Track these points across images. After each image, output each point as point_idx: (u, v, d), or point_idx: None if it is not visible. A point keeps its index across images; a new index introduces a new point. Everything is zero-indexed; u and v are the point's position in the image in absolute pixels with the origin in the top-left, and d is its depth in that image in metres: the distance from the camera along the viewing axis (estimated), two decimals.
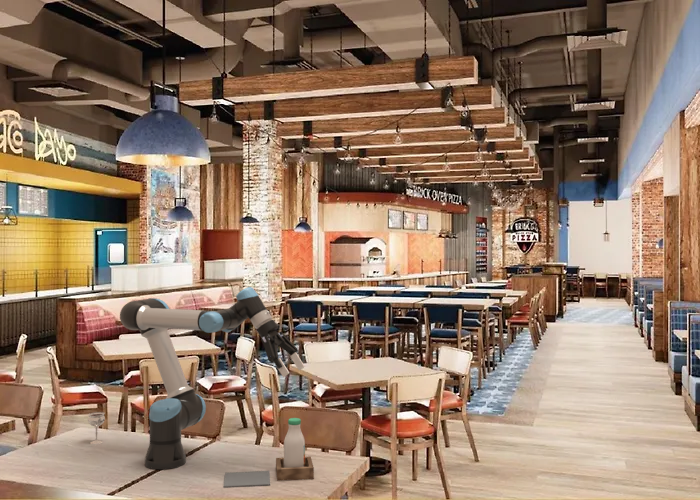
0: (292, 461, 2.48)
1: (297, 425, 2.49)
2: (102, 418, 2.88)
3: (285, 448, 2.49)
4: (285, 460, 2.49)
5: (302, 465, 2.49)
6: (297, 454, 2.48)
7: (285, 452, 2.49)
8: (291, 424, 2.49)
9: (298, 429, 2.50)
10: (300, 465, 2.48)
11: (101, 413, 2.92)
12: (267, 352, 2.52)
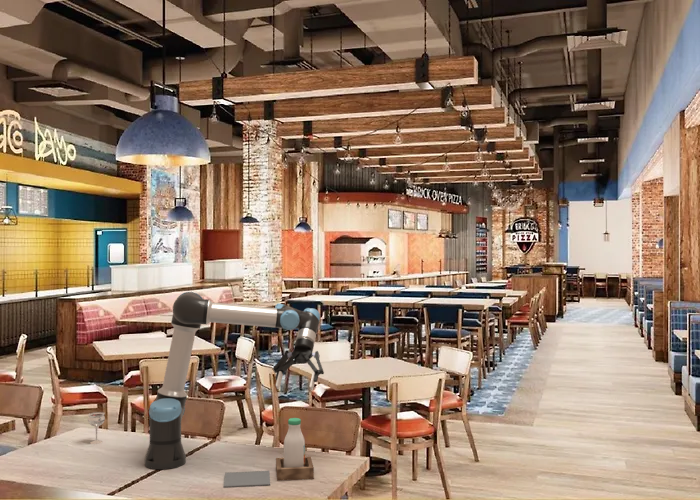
0: (292, 461, 2.48)
1: (297, 425, 2.49)
2: (102, 418, 2.88)
3: (285, 448, 2.49)
4: (285, 460, 2.49)
5: (302, 465, 2.49)
6: (297, 454, 2.48)
7: (285, 452, 2.49)
8: (291, 424, 2.49)
9: (298, 429, 2.50)
10: (300, 465, 2.48)
11: (101, 413, 2.92)
12: None
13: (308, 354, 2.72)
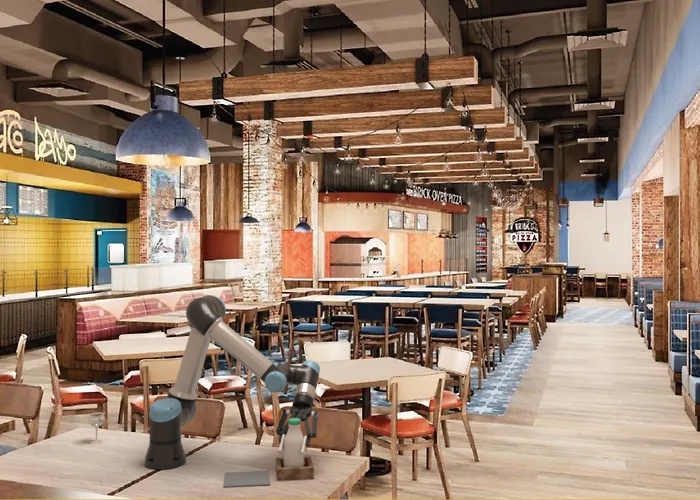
0: (292, 461, 2.48)
1: (297, 425, 2.49)
2: (102, 418, 2.88)
3: (285, 448, 2.49)
4: (285, 460, 2.49)
5: (302, 465, 2.49)
6: (297, 454, 2.48)
7: (285, 452, 2.49)
8: (291, 424, 2.49)
9: (298, 429, 2.50)
10: (300, 465, 2.48)
11: (101, 413, 2.92)
12: (315, 427, 2.53)
13: (307, 411, 2.58)
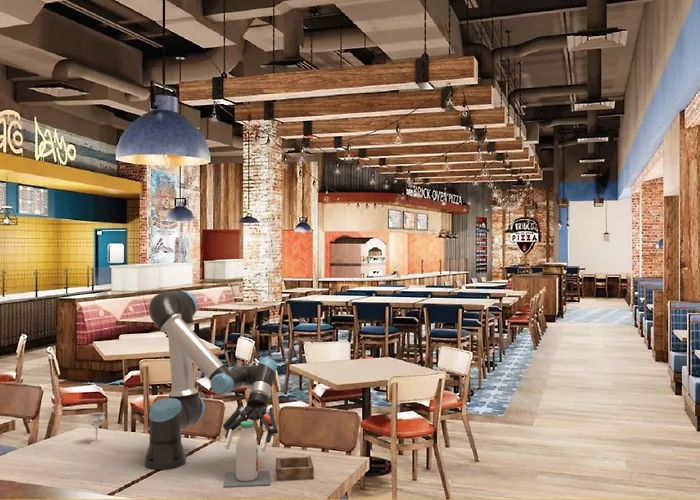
0: (243, 465, 2.41)
1: (249, 428, 2.43)
2: (102, 418, 2.88)
3: (237, 452, 2.43)
4: (237, 464, 2.43)
5: (254, 469, 2.43)
6: (249, 458, 2.42)
7: (237, 456, 2.43)
8: (243, 427, 2.43)
9: (250, 432, 2.44)
10: (252, 469, 2.42)
11: (101, 413, 2.92)
12: None
13: (262, 410, 2.51)
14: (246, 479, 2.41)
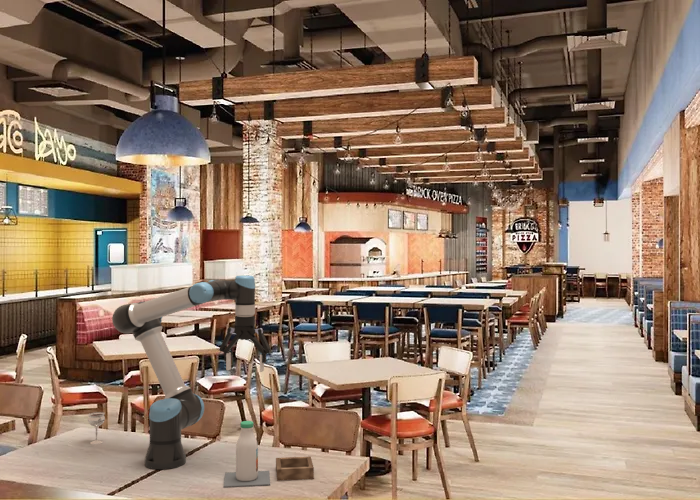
0: (243, 465, 2.41)
1: (249, 428, 2.43)
2: (102, 418, 2.88)
3: (237, 452, 2.43)
4: (237, 464, 2.43)
5: (254, 469, 2.43)
6: (249, 458, 2.42)
7: (237, 456, 2.43)
8: (243, 427, 2.43)
9: (250, 432, 2.44)
10: (252, 469, 2.42)
11: (101, 413, 2.92)
12: (266, 344, 2.64)
13: (251, 332, 2.64)
14: (246, 479, 2.41)
